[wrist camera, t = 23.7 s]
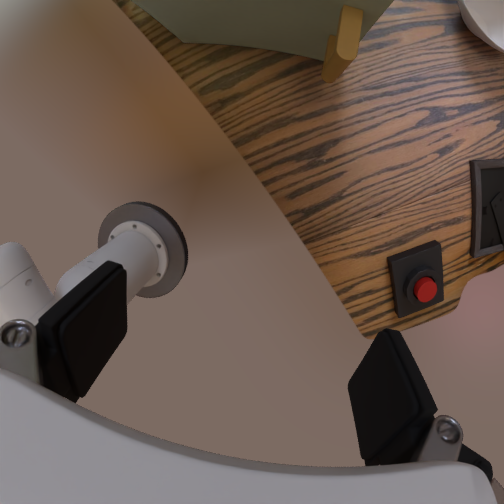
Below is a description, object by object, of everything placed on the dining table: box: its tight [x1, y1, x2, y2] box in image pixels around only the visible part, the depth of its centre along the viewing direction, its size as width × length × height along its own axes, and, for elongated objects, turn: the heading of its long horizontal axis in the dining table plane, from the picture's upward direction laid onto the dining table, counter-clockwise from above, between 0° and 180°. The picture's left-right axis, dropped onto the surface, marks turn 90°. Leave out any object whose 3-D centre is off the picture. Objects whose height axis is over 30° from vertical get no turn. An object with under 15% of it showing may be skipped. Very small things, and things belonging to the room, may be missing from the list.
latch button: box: [414, 277, 437, 302], centre depth 40 cm, size 4×4×2 cm
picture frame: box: [470, 159, 504, 258], centre depth 36 cm, size 13×2×18 cm
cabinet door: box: [131, 0, 394, 83], centre depth 22 cm, size 7×24×26 cm, turn 79°
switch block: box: [387, 240, 444, 318], centre depth 43 cm, size 12×10×4 cm
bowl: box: [458, 0, 504, 52], centre depth 20 cm, size 16×16×7 cm
